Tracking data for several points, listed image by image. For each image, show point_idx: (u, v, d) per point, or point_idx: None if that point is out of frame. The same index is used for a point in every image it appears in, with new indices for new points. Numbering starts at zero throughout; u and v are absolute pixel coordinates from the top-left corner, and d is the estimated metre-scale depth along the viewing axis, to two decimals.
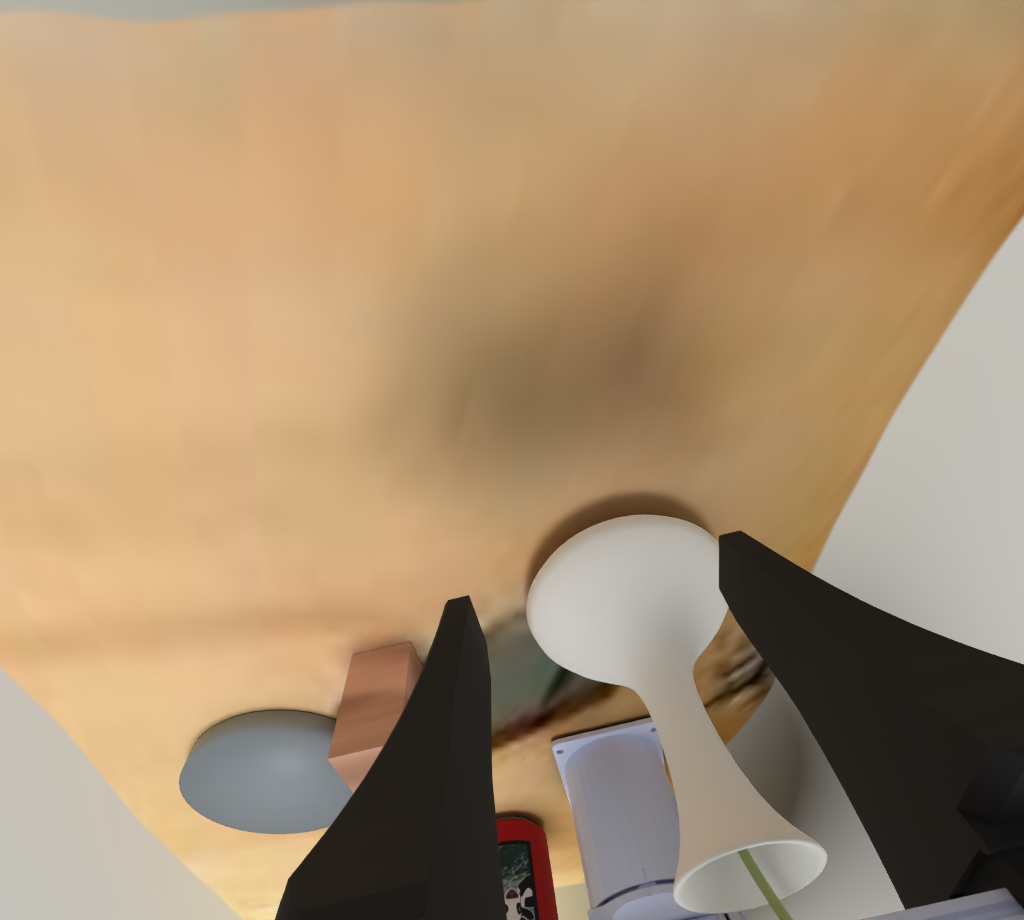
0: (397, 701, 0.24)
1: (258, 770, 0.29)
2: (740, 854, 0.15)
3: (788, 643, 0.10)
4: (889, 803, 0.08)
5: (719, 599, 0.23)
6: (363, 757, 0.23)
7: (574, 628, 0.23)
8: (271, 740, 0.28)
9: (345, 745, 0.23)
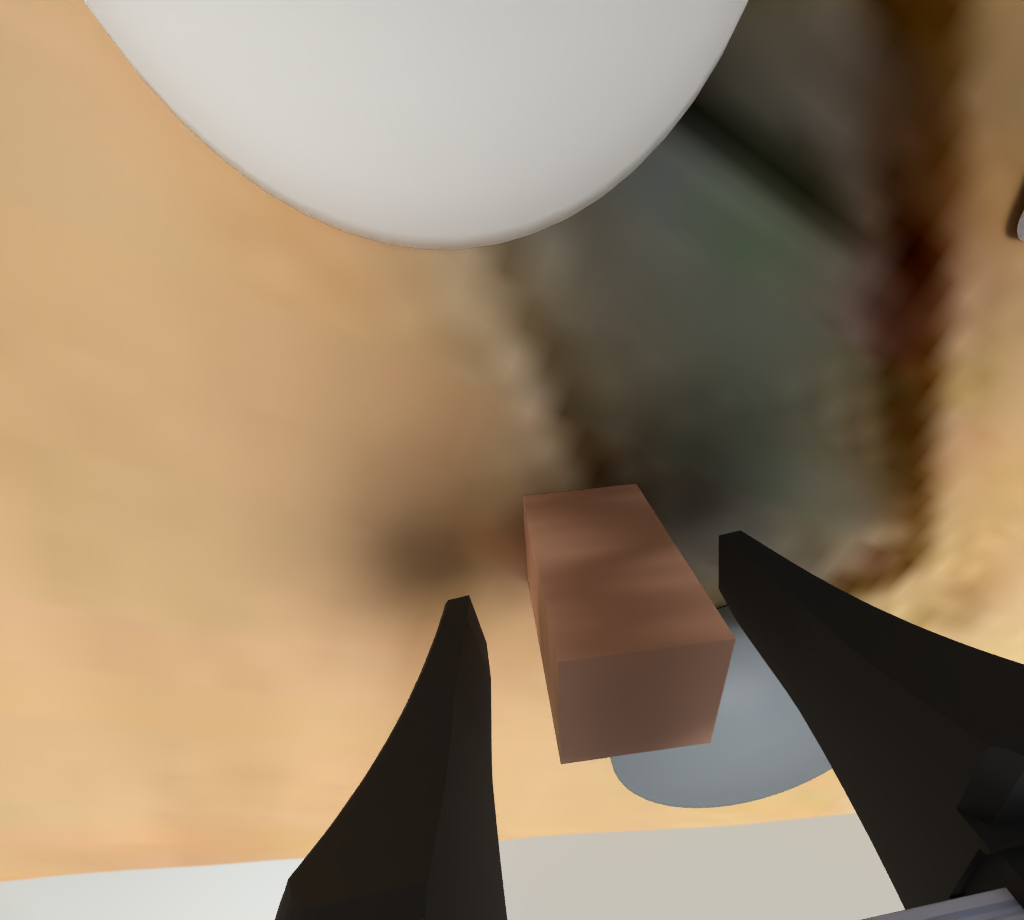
0: (541, 593, 0.11)
1: None
2: None
3: (788, 643, 0.10)
4: (889, 803, 0.08)
5: None
6: (585, 719, 0.10)
7: (316, 75, 0.06)
8: None
9: (556, 723, 0.11)
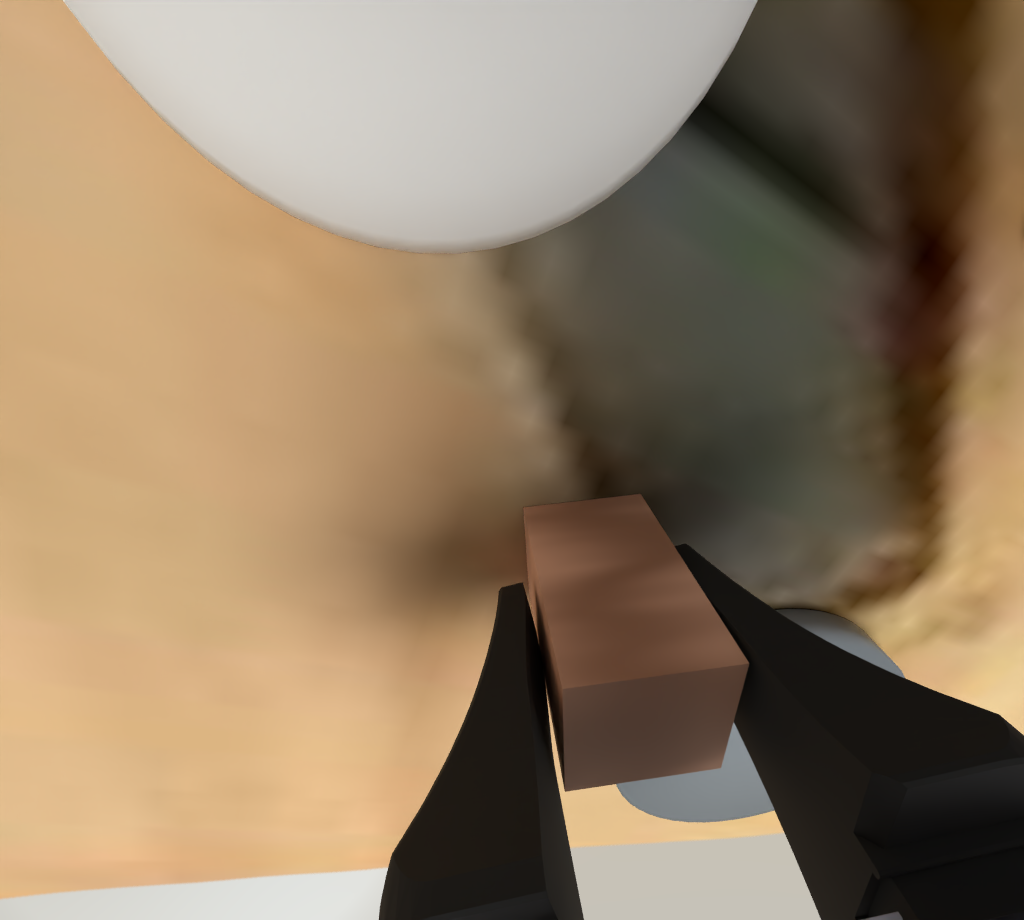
0: (543, 612, 0.11)
1: None
2: None
3: None
4: (806, 823, 0.08)
5: None
6: (589, 747, 0.10)
7: (301, 67, 0.06)
8: None
9: (560, 749, 0.10)
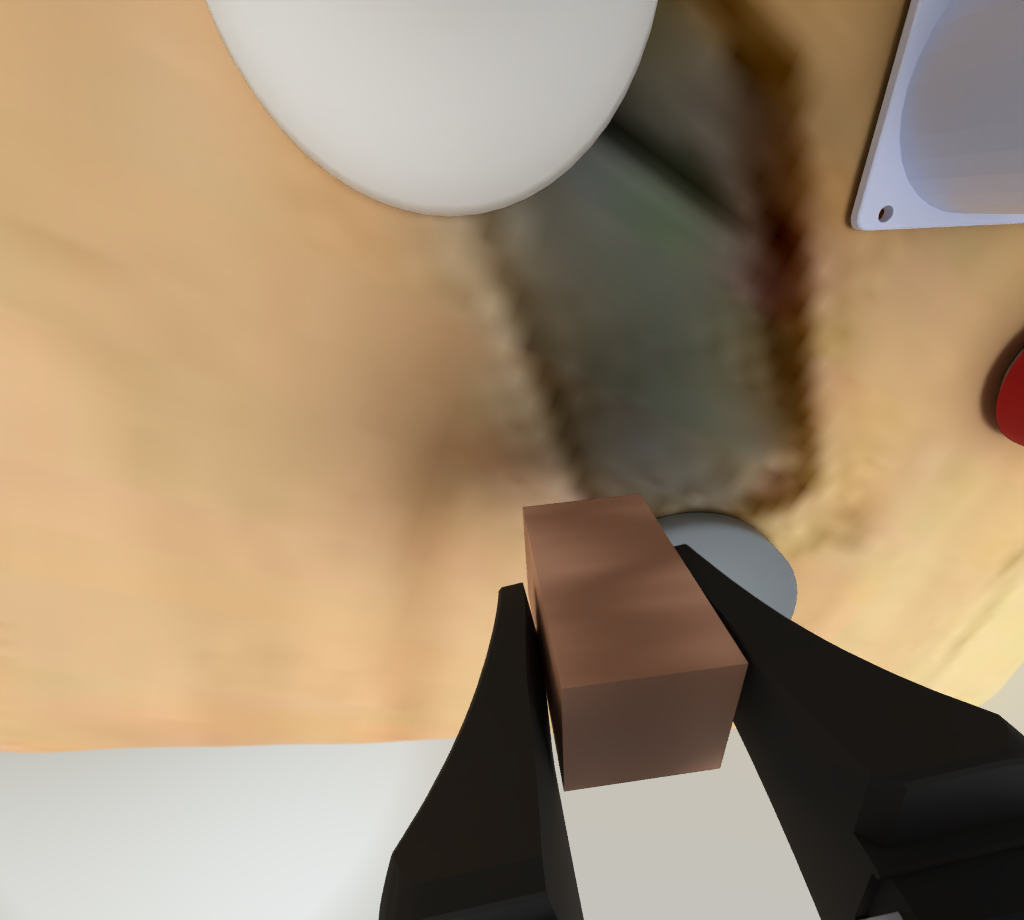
0: (543, 611, 0.11)
1: None
2: None
3: None
4: (805, 823, 0.08)
5: None
6: (589, 746, 0.10)
7: (373, 104, 0.10)
8: None
9: (559, 749, 0.10)
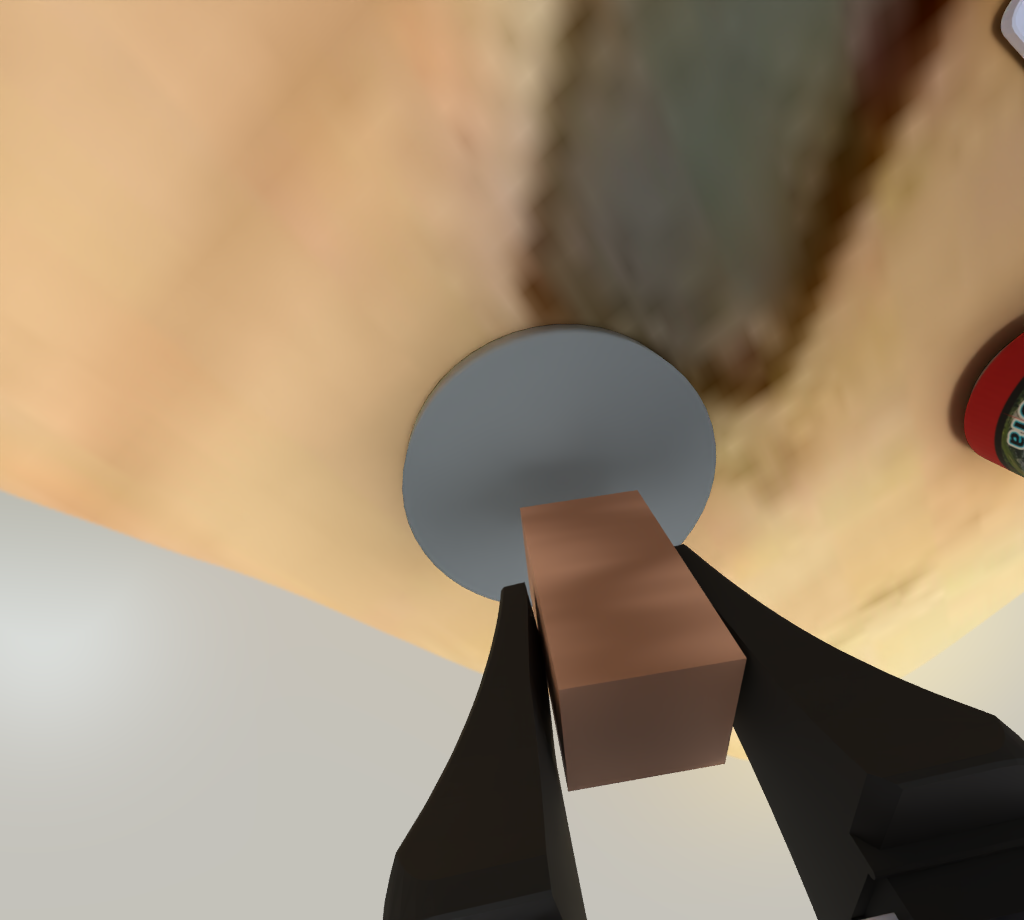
0: (541, 612, 0.11)
1: (504, 476, 0.17)
2: None
3: None
4: (802, 823, 0.08)
5: None
6: (590, 746, 0.10)
7: None
8: (464, 396, 0.15)
9: (562, 748, 0.10)
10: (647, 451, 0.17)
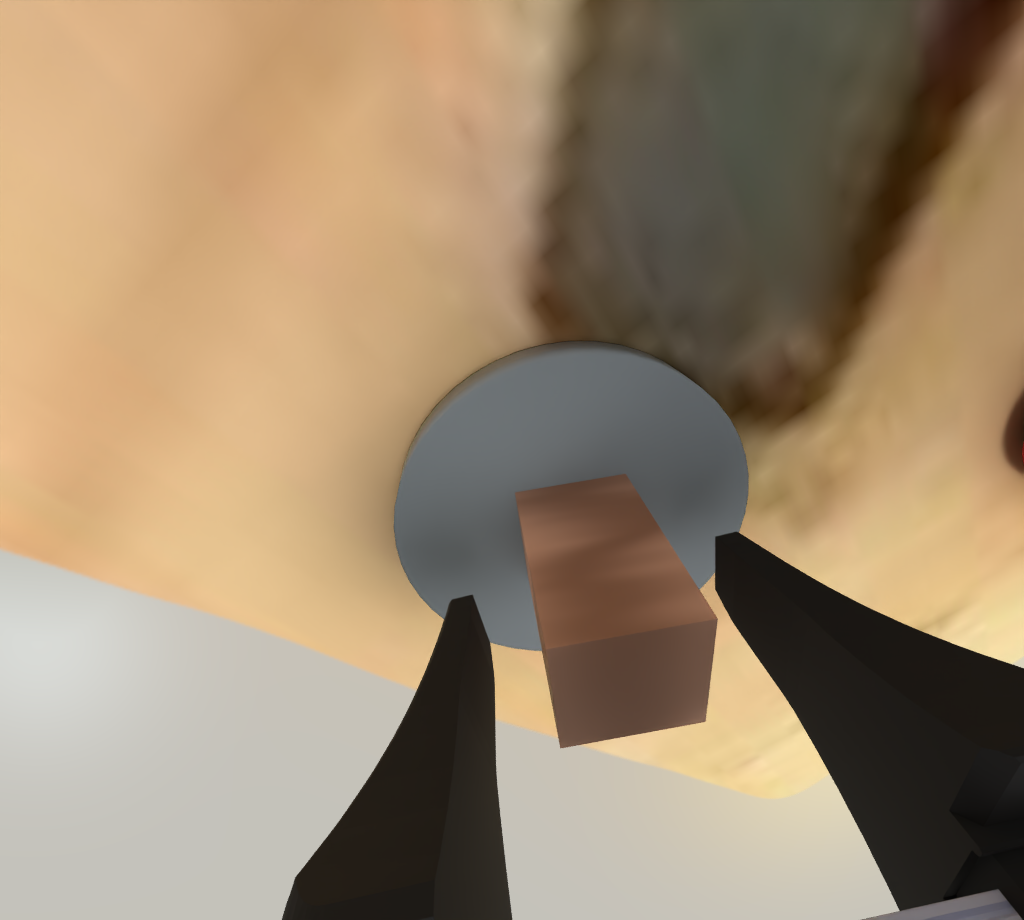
0: (532, 585, 0.12)
1: (509, 513, 0.15)
2: None
3: (783, 644, 0.10)
4: (884, 805, 0.08)
5: None
6: (578, 704, 0.10)
7: None
8: (464, 425, 0.13)
9: None
10: (671, 484, 0.15)
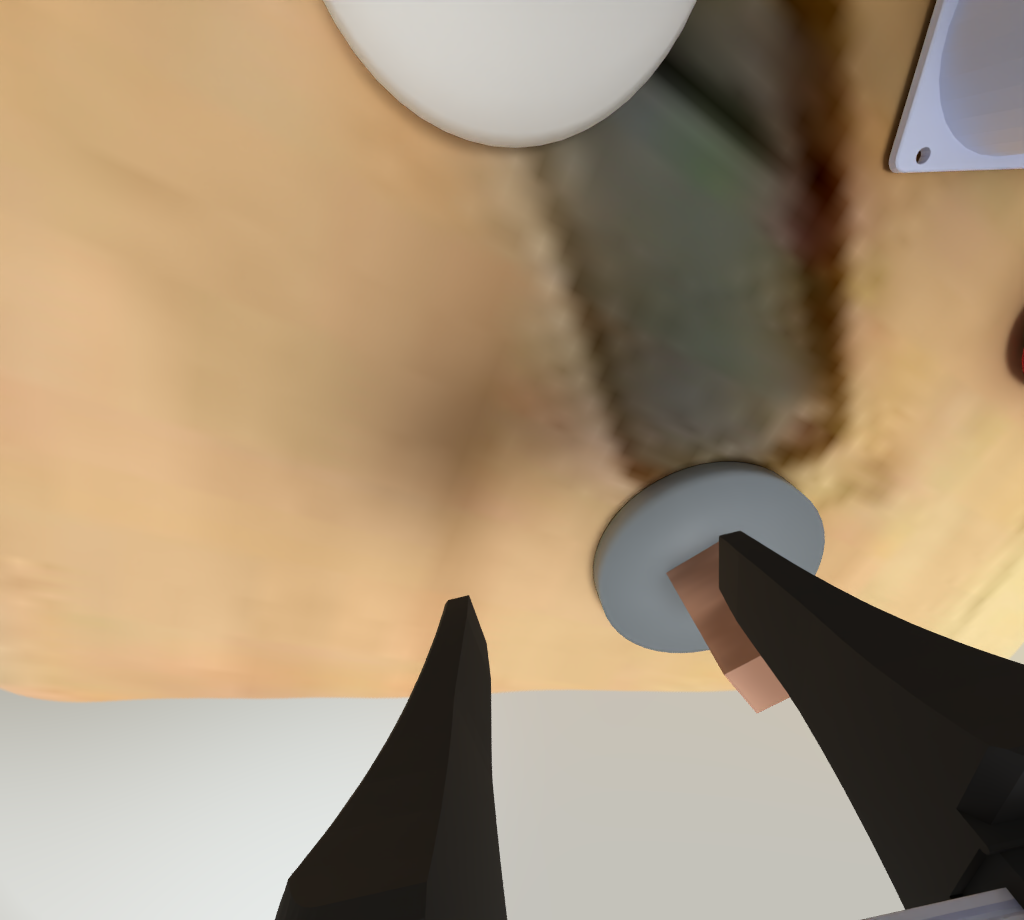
0: (702, 635, 0.21)
1: (668, 583, 0.24)
2: None
3: (788, 643, 0.10)
4: (889, 803, 0.08)
5: None
6: (754, 691, 0.19)
7: (458, 20, 0.11)
8: (622, 555, 0.23)
9: None
10: (761, 528, 0.23)
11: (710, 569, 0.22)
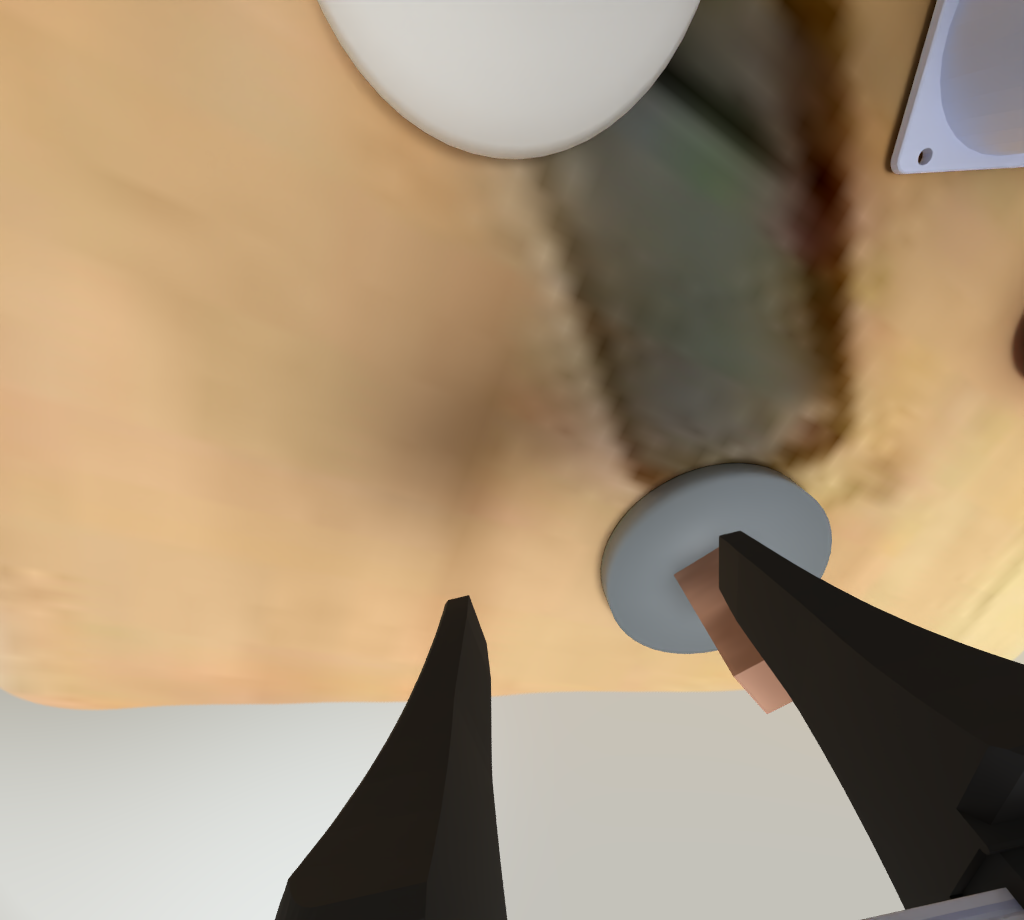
0: None
1: (675, 585, 0.24)
2: None
3: (788, 643, 0.10)
4: (889, 803, 0.08)
5: None
6: (764, 692, 0.19)
7: (461, 38, 0.11)
8: (630, 558, 0.23)
9: None
10: (767, 528, 0.23)
11: (717, 571, 0.23)
